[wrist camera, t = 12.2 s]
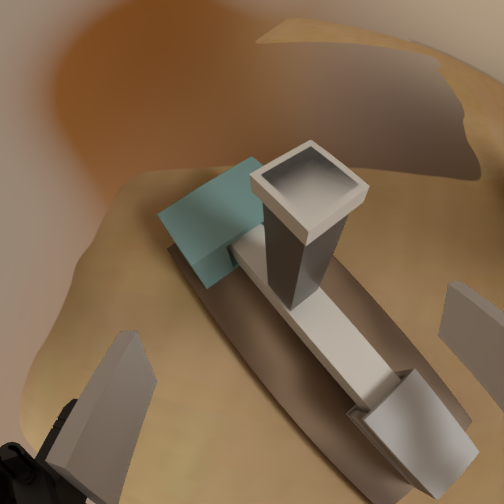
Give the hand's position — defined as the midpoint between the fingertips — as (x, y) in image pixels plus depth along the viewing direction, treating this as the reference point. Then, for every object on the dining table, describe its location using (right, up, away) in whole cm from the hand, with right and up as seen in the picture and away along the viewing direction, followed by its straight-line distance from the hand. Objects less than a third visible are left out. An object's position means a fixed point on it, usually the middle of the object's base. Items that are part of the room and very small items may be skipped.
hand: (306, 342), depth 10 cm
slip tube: (+3, -2, +11) cm, 12 cm away
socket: (-4, +5, +17) cm, 18 cm away
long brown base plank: (+4, -5, +13) cm, 14 cm away
